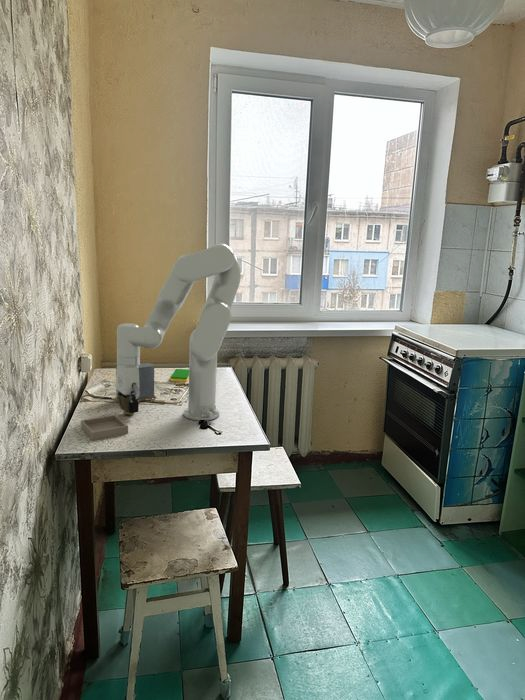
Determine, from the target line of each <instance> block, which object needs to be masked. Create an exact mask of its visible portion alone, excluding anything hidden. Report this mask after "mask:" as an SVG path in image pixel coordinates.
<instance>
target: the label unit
mask: <svg viewBox="0 0 525 700" xmlns="http://www.w3.org/2000/svg"><path fill="white" fill-rule="evenodd" d="M138 369H139V391H140V397H139V402H140V403H141V402H144V401H143V400H146V399H152V398H156V399H157V396H156V395H155V365H153V364H152V363H150V362H146V363H140V365H139V366H138ZM116 375H117V366H115V376H116ZM115 389H116V390H115V391H116V393H115V397H114V400H115V399H116V401H115V402H116V403H118V390H117V388H116V387H115ZM152 400H153V399H152ZM146 401H147V400H146Z"/></svg>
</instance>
